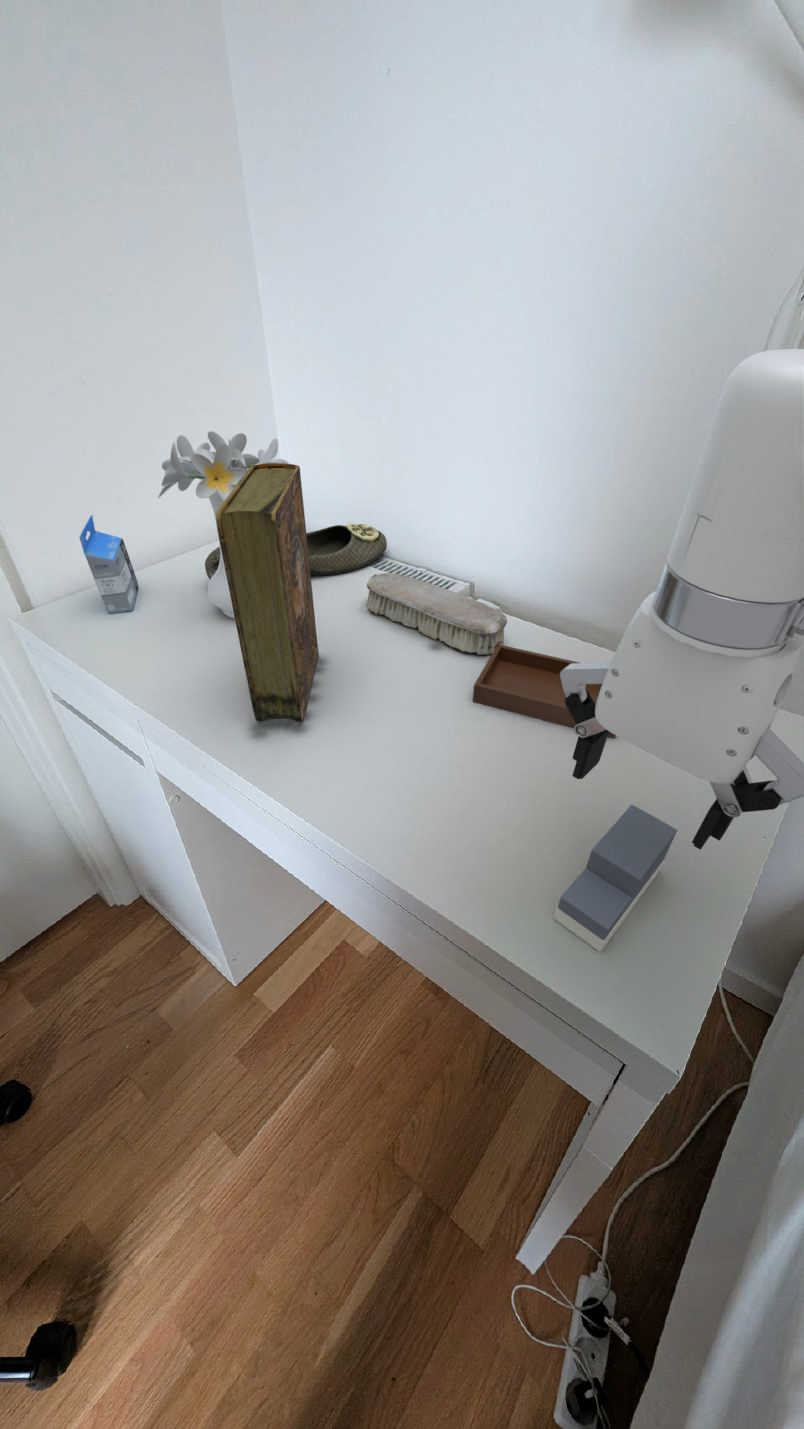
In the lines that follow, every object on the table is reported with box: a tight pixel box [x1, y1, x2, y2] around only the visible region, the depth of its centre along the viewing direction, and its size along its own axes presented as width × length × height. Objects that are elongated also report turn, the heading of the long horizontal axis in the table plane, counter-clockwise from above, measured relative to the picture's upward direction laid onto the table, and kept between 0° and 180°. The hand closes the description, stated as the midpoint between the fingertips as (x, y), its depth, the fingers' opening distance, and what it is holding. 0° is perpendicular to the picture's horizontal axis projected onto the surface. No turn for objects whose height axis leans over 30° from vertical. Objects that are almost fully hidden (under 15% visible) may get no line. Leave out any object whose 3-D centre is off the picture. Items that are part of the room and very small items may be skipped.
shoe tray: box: [472, 644, 617, 739], centre depth 72 cm, size 17×10×3 cm, turn 66°
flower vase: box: [157, 430, 290, 619], centre depth 83 cm, size 13×18×25 cm
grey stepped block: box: [553, 804, 678, 953], centre depth 49 cm, size 11×4×6 cm, turn 136°
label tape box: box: [79, 514, 139, 614], centre depth 88 cm, size 9×4×12 cm, turn 13°
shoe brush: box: [366, 572, 508, 655], centre depth 85 cm, size 24×8×5 cm, turn 51°
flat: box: [204, 522, 388, 580], centre depth 99 cm, size 11×33×8 cm, turn 117°
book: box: [215, 463, 320, 723], centre depth 66 cm, size 16×6×25 cm, turn 179°
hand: (641, 801), depth 44 cm, fingers open, 9 cm apart
